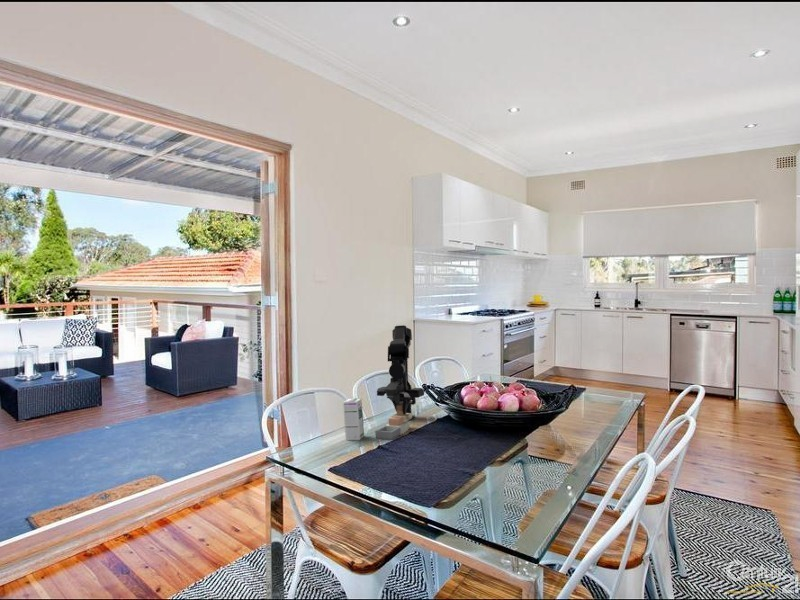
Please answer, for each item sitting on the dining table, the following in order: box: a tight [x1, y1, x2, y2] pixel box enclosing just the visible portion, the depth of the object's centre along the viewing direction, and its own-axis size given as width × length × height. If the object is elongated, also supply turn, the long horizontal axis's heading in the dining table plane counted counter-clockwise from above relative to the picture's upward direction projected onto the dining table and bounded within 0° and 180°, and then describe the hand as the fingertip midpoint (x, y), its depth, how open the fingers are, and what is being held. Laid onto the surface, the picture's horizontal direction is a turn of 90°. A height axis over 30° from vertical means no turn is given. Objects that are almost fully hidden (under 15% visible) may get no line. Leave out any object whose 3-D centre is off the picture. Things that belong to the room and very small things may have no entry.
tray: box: [374, 425, 402, 441], centre depth 180 cm, size 7×7×3 cm
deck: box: [384, 421, 410, 435], centre depth 186 cm, size 7×7×3 cm
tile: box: [388, 416, 403, 426], centre depth 186 cm, size 4×4×2 cm
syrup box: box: [342, 397, 365, 441], centre depth 181 cm, size 6×6×14 cm
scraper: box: [390, 404, 413, 422], centre depth 190 cm, size 6×6×6 cm
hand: (401, 413), depth 190 cm, fingers closed on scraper, 2 cm apart
